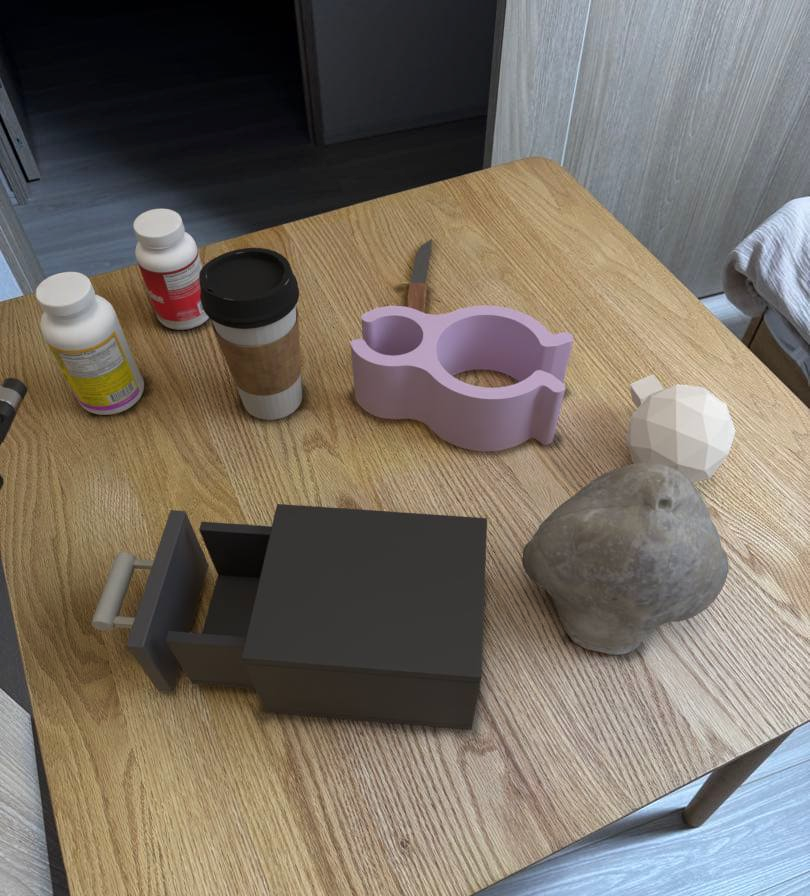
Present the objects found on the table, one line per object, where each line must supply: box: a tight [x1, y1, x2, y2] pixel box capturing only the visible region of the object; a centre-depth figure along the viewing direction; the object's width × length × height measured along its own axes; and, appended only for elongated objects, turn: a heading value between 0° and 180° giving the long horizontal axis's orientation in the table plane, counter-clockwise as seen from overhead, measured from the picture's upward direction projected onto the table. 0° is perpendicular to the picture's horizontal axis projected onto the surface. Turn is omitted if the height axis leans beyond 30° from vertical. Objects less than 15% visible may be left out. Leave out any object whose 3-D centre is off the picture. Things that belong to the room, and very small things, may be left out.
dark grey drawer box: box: [242, 503, 488, 731], centre depth 56 cm, size 16×13×10 cm
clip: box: [350, 304, 575, 452], centre depth 72 cm, size 20×12×7 cm, turn 77°
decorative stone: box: [521, 463, 730, 656], centre depth 56 cm, size 15×10×15 cm
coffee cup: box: [199, 247, 303, 421], centre depth 69 cm, size 8×8×15 cm
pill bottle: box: [133, 208, 210, 331], centre depth 78 cm, size 6×6×11 cm
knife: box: [400, 238, 433, 313], centre depth 84 cm, size 17×1×3 cm
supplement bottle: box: [35, 271, 145, 416], centre depth 70 cm, size 7×7×13 cm
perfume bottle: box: [625, 373, 737, 484], centre depth 67 cm, size 9×9×12 cm
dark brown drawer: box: [91, 509, 272, 693], centre depth 56 cm, size 19×11×8 cm, turn 85°
